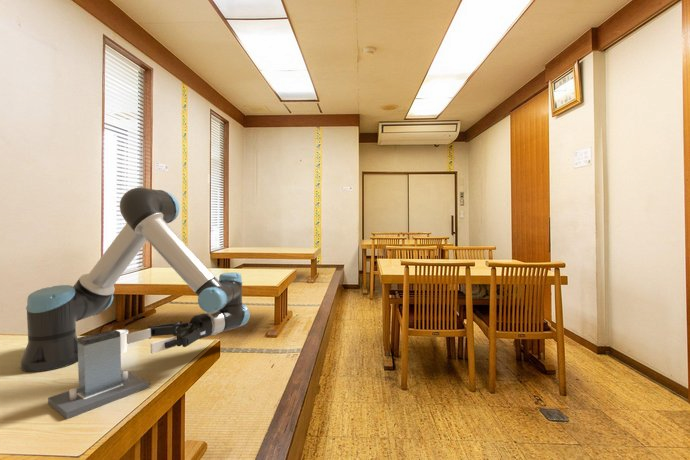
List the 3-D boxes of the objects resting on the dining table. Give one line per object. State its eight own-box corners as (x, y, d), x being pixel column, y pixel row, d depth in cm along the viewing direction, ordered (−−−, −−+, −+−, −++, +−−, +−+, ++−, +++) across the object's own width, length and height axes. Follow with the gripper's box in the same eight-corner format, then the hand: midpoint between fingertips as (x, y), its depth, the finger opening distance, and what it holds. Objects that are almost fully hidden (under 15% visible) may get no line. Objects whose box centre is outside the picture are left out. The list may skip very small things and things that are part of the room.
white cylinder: (116, 348, 123) (116, 328, 123) (133, 349, 122) (133, 329, 122) (99, 355, 117) (99, 334, 116) (117, 357, 115) (116, 336, 115)
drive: (78, 393, 88) (77, 337, 87) (114, 381, 94) (113, 329, 94) (85, 397, 85) (84, 340, 85) (121, 384, 92) (120, 332, 92)
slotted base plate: (48, 403, 86) (47, 387, 86) (127, 376, 101) (126, 362, 100) (66, 419, 79) (66, 401, 79) (148, 387, 94) (148, 372, 94)
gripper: (231, 343, 108) (163, 367, 90) (185, 329, 122) (118, 348, 105) (230, 319, 108) (162, 338, 90) (184, 308, 122) (117, 323, 104)
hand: (138, 343), depth 97 cm, fingers open, 13 cm apart
